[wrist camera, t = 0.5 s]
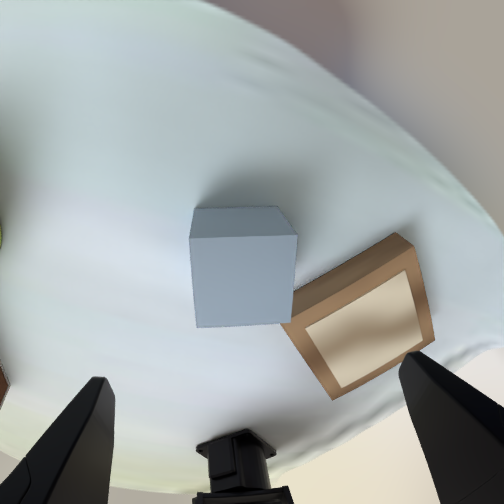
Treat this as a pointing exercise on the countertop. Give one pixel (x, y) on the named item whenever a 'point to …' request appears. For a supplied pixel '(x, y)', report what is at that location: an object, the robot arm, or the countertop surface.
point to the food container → (3, 385)
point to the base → (362, 316)
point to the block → (242, 266)
